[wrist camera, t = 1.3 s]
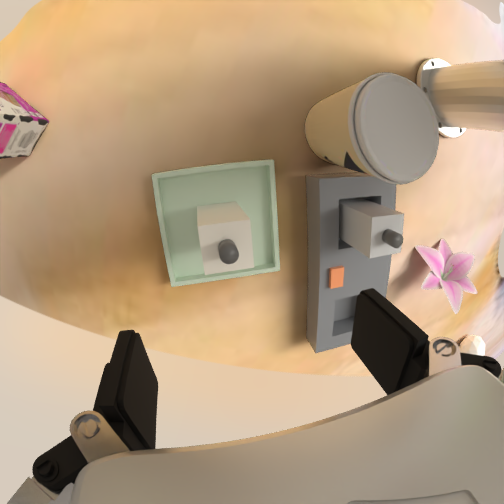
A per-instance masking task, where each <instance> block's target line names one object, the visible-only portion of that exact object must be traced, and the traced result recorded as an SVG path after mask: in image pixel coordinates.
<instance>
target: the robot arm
mask: <svg viewBox="0 0 504 504" xmlns="http://www.w3.org/2000/svg"><path fill="white" fill-rule="evenodd" d="M417 86H418V87H419V88H420V89H421V90H422V91H423V92H424V93H425V95H426V96H427V98H428V99H429V101H430V103H431V104H432V107H433V109H434V112H435V114H436V118H437V122H438V129H439V134H441V135H442V136H445V137H450V138H455V137H459V136H461V135H462V134H463V133H464V131H465V130H466V128H467V129H479V130H489V131H498V132H504V60H495V61H484V62H474V63H465V64H458V65H449V64H448V63H447V62H445V61H444V60H442V59H438V58H432V59H428V60H426V61H424V62H423V63H422V64H421V65H420V67H419V70H418V73H417ZM428 337H429V336H428V335H427V334H426V333H425V332H424V331H422V330H421V329H420V328H419V327H418V326H417V325H416V324H415V323H413V322H412V321H411V320H410V319H409V318H408V317H407V316H406V315H404V314H403V313H402V312H401V311H400V310H399V309H398V308H396V307H395V306H394V305H393V304H392V303H391V302H389V301H388V300H387V299H386V298H385V297H384V296H382V295H381V294H380V293H379V292H378V291H376V290H375V289H374V288H370V289H366V290H362V291H361V292H360V294H359V295H358V296H357V300H356V309H355V316H354V323H353V330H352V337H351V346H352V349H353V350H354V351H355V353H356V354H357V355H358V357H359V358H360V359H361V360H362V362H363V363H364V364H365V366H366V367H367V368H368V370H369V371H370V372H371V374H372V375H373V376H374V378H375V379H376V380H377V382H378V383H379V384H380V385H381V387H382V388H383V390H384V391H385V392H386V393H387V396H385V397H383V398H380V399H378V400H376V401H373V402H371V403H368V404H365V405H363V406H361V407H358V408H355V409H352V410H350V411H347V412H344V413H341V414H338V415H335V416H332V417H329V418H326V419H323V420H320V421H316V422H313V423H310V424H306V425H302V426H299V427H295V428H291V429H287V430H283V431H280V432H275V433H271V434H266V435H261V436H256V437H251V438H246V439H240V440H235V441H228V442H221V443H215V444H206V445H197V446H189V447H177V448H162V449H155V442H156V441H155V440H156V413H157V395H158V381H157V378H156V376H155V373H154V371H153V368H152V366H151V363H150V361H149V358H148V356H147V353H146V350H145V348H144V345H143V342H142V340H141V337H140V334H139V333H135V331H134V330H125V331H120V332H119V335H118V338H117V341H116V344H115V347H114V351H113V354H112V358H111V361H110V363H107V364H106V366H105V368H104V371H103V375H102V378H101V382H100V385H99V389H98V393H97V397H96V400H95V404H94V408H93V411H84V412H81V413H79V414H78V415H77V416H75V417H74V419H73V420H72V421H71V424H70V432H71V436H69V437H68V438H67V439H65V440H63V441H62V442H61V443H59V444H58V445H56V446H55V447H53V448H52V449H50V450H49V451H47V452H45V453H44V454H42V455H41V456H39V457H38V458H37V459H36V460H35V462H34V464H33V475H34V476H33V477H32V479H31V478H29V477H28V478H27V479H26V481H25V482H24V483H23V484H22V485H21V487H20V488H19V489H18V490H17V492H16V493H15V494H14V495H13V497H12V498H11V499H10V500H9V502H8V503H7V504H504V368H503V370H501V366H500V364H499V363H498V362H497V361H496V360H495V359H494V358H492V357H488V356H481V355H474V354H468V353H461V352H460V349H459V346H458V345H457V343H456V342H455V341H453V340H452V339H449V338H446V337H437V338H434V339H433V340H431V342H429V341H428Z"/></svg>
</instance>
